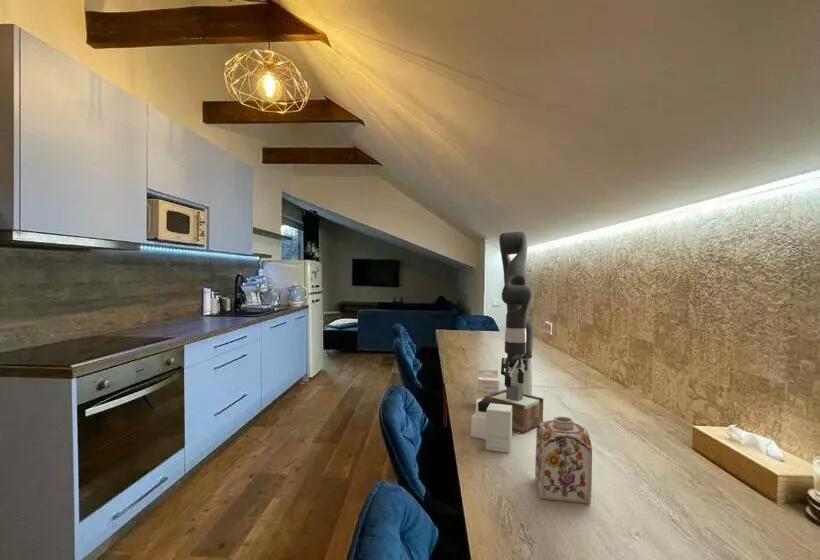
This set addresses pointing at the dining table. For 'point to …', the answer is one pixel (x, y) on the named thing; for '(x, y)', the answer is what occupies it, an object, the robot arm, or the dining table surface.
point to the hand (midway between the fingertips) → (514, 385)
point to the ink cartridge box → (487, 383)
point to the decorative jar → (563, 461)
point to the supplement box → (499, 427)
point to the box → (522, 413)
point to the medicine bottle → (480, 418)
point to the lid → (517, 396)
